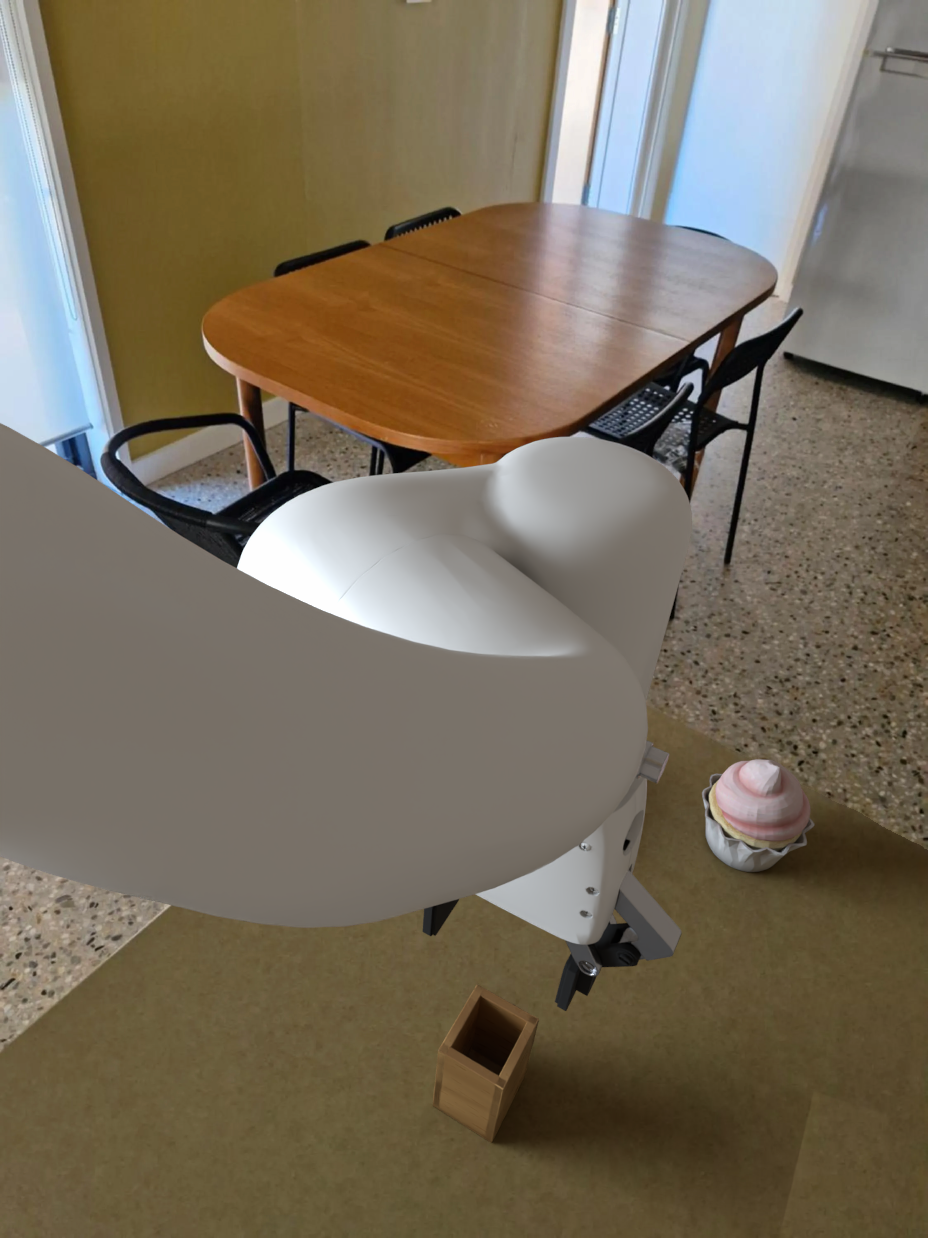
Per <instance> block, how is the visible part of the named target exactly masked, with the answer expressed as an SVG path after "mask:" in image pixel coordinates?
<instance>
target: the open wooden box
mask: <svg viewBox="0 0 928 1238" xmlns="http://www.w3.org/2000/svg"><path fill="white" fill-rule="evenodd" d="M539 1022H540V1019H539V1017H537V1016H535V1015H533V1014H532V1013H530V1012H528V1011H526V1010H524V1009H522V1008H520V1007H519V1006H517V1005H515V1004H514V1003H511V1002H510V1001H509V1000H506V999H505V998H503V997H501V996H499V995H498V994H496V993H494V992H492V991H490V990H488V989H487V988H485V987H484V986H481V985H480V984H476V985H475V987H474V988H473V990H472V991H471V993H470V995H469V996H468V998H467V1000H466V1002H465V1004H464V1005H463V1007H462V1009H461V1010H460V1012H459V1013H458V1016H457V1017H456V1019H455V1020H454V1023H453V1024H452V1025H451V1027H450V1029H449V1031H448V1033H447V1034H446V1036H445V1038H444V1039H443V1042H442V1043H441V1045H440V1046H439V1048H438V1049H437V1050H438V1051H437V1059H436V1068H435V1069H436V1070H435V1076H434V1077H435V1078H434V1088H433V1098H432V1107H433V1108H435V1109H436V1110H438V1111H440V1112H441V1113H443V1114H444V1115H446V1116H448V1117H450V1119H452V1120H454V1121H455V1122H457V1123H459V1124H460V1125H462V1126H463V1127H465V1128H467V1129H468V1130H470V1131H471V1132H473V1133H475V1134H476V1135H478V1136H479V1137H481V1138H482V1139H484V1140H486V1141H487V1142H489V1143H490V1144H492V1143H493V1141H494V1140H495V1138H496V1135H497V1134H498V1132H499V1130H500V1128H501V1125H502V1123H503V1122H504V1120H505V1117H506V1115H507V1113H508V1111H509V1110H510V1107H511V1105H512V1104H513V1102H514V1099H515V1097H516V1095H517V1093H518V1091H519V1090H520V1087H521V1085H522V1083H523V1081H524V1079H525V1078H526V1075H527V1070H528V1066H529V1062H530V1059H531V1058H530V1057H531V1054H532V1050H533V1046H534V1042H535V1038H536V1033H537V1031H538V1030H537V1029H538V1027H539V1026H538V1025H539Z"/></svg>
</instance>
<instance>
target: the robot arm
mask: <svg viewBox="0 0 928 1238" xmlns="http://www.w3.org/2000/svg"><path fill="white" fill-rule="evenodd" d="M692 533H693V513H692V507H691V503H690V500H689V497H688V494H687V491H686V490H685V488H684V487H683V485H682V484H681V482H680V480H679V479H678V477H676V476H675V474H673V473H672V471H670V470H669V469H668V468H667V467H666V466H664V465H663V464H662V463H661V462H659V461H658V460H656V459H655V458H653V457H652V456H650V455H649V454H647V453H644V452H643V451H640V450H638V449H636V448H633V447H631V446H628V445H625V444H622V443H619V442H614V441H610V440H606V439H602V438H594V437H587V436H586V437H584V436H558V437H549V438H544V439H543V438H542V439H539V440H535V441H532V442H529V443H526V444H524V445H521V446H519V447H517V448H515V449H513V450H511V451H510V452H508V453H506V454H505V455H503V457H501V458H500V459H498V460H497V461H496V462H493V463H487V464H481V465H473V466H466V467H455V468H445V469H434V470H424V471H412V472H398V473H384V474H376V475H374V474H373V475H367V476H359V477H353V478H349V479H343V480H339V481H334V482H330V483H327V484H324V485H321V486H319V487H316V488H313V489H311V490H308V491H306V492H304V493H301V494H299V495H297V496H294V498H292V499H290V500H288V501H286V502H285V503H283V504H282V505H281V506H280V507H278V508H277V509H275V510H274V511H273V512H272V513H270V514H269V515H267V517H266V518H265V519H263V521H262V522H261V523H260V524H259V525H258V527H256V529H255V530H254V532H253V533H252V534H251V536H249V538H248V540H247V542H246V544H245V546H244V547H243V550H242V552H241V555H240V557H239V561H238V564H237V567H235V566H233V565H231V564H230V563H228V562H226V561H224V560H222V559H220V558H219V557H217V556H216V555H214V554H212V553H211V552H209V551H207V550H206V549H204V548H202V547H201V546H199V545H197V544H196V543H194V542H193V541H190V540H189V539H187V538H186V537H184V536H182V535H181V534H179V533H178V532H176V531H174V530H173V529H171V528H170V527H168V526H167V525H165V524H164V523H162V522H160V520H157V519H156V518H155V517H153V516H152V515H150V514H148V513H147V512H146V511H144V510H143V509H141V508H140V507H138V506H137V505H135V504H134V503H132V502H131V501H129V500H127V499H126V498H125V497H123V496H121V495H120V494H118V493H117V492H116V491H114V490H113V489H111V488H110V487H108V486H107V485H105V484H104V483H102V482H101V481H99V480H97V479H96V478H95V477H93V476H92V475H90V474H89V473H87V472H86V471H84V470H83V469H81V468H80V467H78V466H76V465H75V464H73V463H72V462H71V461H68V460H67V459H65V458H63V457H62V456H61V455H58V454H57V453H56V452H53V451H52V450H50V449H49V448H47V447H45V446H43V445H42V444H41V443H38V442H36V441H34V440H33V439H31V438H29V437H28V436H25V434H22V433H21V432H19V431H16V430H15V429H13V428H12V427H10V426H7V425H5V424H3V423H2V422H0V858H3V859H6V860H8V861H11V862H14V863H16V864H19V865H22V866H25V867H28V868H31V869H34V870H37V871H40V872H43V873H46V874H49V875H52V876H55V877H59V878H63V879H66V880H68V881H73V882H76V883H80V884H83V885H88V886H91V887H95V888H98V889H102V890H105V891H108V892H113V893H117V894H120V895H126V896H130V897H135V898H139V899H142V900H146V901H151V902H155V903H160V904H164V905H169V906H172V907H176V908H181V909H186V910H189V911H193V912H198V913H200V914H201V913H202V914H205V915H210V916H214V917H219V918H224V919H229V920H235V921H241V922H248V923H252V924H257V925H258V924H260V925H267V926H279V927H290V928H303V929H306V928H307V929H309V928H338V927H339V928H340V927H341V928H343V927H351V926H358V925H364V924H370V923H377V922H382V921H385V920H389V919H393V918H396V917H400V916H404V915H406V914H411V913H414V912H418V911H421V910H422V911H423V918H422V933H423V934H425V935H427V936H429V937H432V936H434V937H436V936H437V935H438V934H439V931H440V930H441V928H442V927H443V926H444V924H445V922H446V921H447V919H448V918H449V916H450V915H451V913H452V912H453V910H454V909H455V907H456V906H457V904H458V903H459V901H460V900H461V899H464V898H468V897H470V896H475V895H476V896H477V897H479V898H481V899H483V900H485V901H487V902H489V903H491V904H493V905H495V906H496V907H498V908H500V909H501V910H503V911H506V912H507V913H510V914H511V915H514V917H517V918H519V919H521V920H523V921H525V922H527V923H529V924H531V925H533V926H535V927H537V928H539V929H541V930H543V931H545V932H547V933H549V934H550V935H553V936H555V937H557V938H559V939H561V940H564V941H565V943H566V946H567V948H568V950H569V952H570V954H569V956H568V957H567V959H566V962H565V964H564V966H563V969H562V972H561V977H560V979H559V983H558V988H557V992H556V996H555V998H554V1003H555V1004H557V1005H556V1007H557V1008H559V1009H561V1010H563V1011H564V1012H567V1011H568V1009H569V1008H570V1004H571V1003H572V1000H573V998H574V996H575V995H576V992H577V993H580V994H582V995H584V996H586V997H588V996H589V994H590V992H591V990H592V988H593V986H594V983H595V981H596V979H597V977H598V976H599V975H600V972H601V971H602V968H624V967H625V968H626V967H636V966H637V965H638V963H639V961H640V960H645V961H647V962H648V961H654V960H661V959H665V958H670V957H673V956H674V954H675V951H676V949H677V946H678V944H679V942H680V939H681V936H682V934H683V933H682V929H681V928H680V927H679V925H677V923H676V922H675V921H674V920H673V919H672V918H671V916H670V915H669V914H668V913H667V912H666V911H665V910H664V909H663V907H662V906H661V905H660V904H659V902H658V901H656V899H655V898H654V897H653V896H652V894H651V893H650V892H649V891H648V890H647V889H646V888H645V887H644V885H643V884H642V883H641V882H640V881H639V880H638V879H637V877H636V876H635V875H634V874H633V872H634V869H635V865H636V861H637V857H638V853H639V849H640V845H641V844H640V843H641V839H642V836H643V835H642V834H643V829H644V823H645V816H646V815H645V814H646V806H647V798H648V797H647V794H648V781H650V782H652V783H655V784H658V783H659V781H660V779H661V778H662V775H663V773H664V771H665V769H666V766H667V763H668V760H669V757H670V753H669V752H666V751H664V750H663V749H660V748H657V747H655V746H654V742H652V741H650V740H647V739H648V733H649V724H648V723H649V721H648V710H647V709H648V708H647V700H648V696H649V692H650V689H651V685H652V682H653V678H654V676H655V675H654V674H655V671H656V667H657V665H658V660H659V656H660V653H661V649H662V645H663V642H664V638H665V635H666V631H667V628H668V625H669V620H670V616H671V615H672V614H671V613H672V610H673V606H674V602H675V599H676V595H677V592H678V588H679V585H680V582H681V581H680V580H681V577H682V574H683V571H684V566H685V562H686V559H687V555H688V551H689V548H690V547H689V546H690V542H691V538H692ZM614 911H616V913H617V914H618V915H619V916H620V917H621V918H622V919H623V920H624V922H621V923H620V922H619V923H618V922H617V920H616V917H615V915H614Z"/></svg>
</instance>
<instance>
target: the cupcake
mask: <svg viewBox="0 0 928 1238" xmlns="http://www.w3.org/2000/svg"><path fill="white" fill-rule="evenodd" d="M701 797H702V801H703V806H704V809H705V810H704V817H705V838H706V842H707V844H708V846H709V848H710V850H711V852H712V853H713V855H714V856H715V857H716V858H718V859H719V860H720V861H721V862H722V863H723V864H725V865H727V866H728V867H730V868H732V869H735V870H738V871H741V872H746V873H758V872H762V871H765V870H769V869H770V868H772V867H773V866H774V865H776V863H778V861H780V860H781V859H782V858H783V857H785V856H786V855H787V854H788V853H789V852H792V851H795V850H796V849H799V848H802V847H805V846H807V844H808V841H807V836H806V833H807V832H808V831H810V830H811V829H812V828H814V826H815V822H814V821H813V820H812V819H811V817H810V816H811V803H810V801H809V798H808V796H807V794H806V793H805V791H804V790H803V789H802V785H801V783H800V781H799V779H798V778H797V777H796V776H795V775H794V774H793V773H792V772H791V771H790V770H789V769H787V767H785V766H784V765H782V764H781V763H780V762H778V761H776V760H773V759H760V758H759V759H758V758H757V759H756V758H755V759H752V760H740V761H737V762H735V763H733V764H731V765H730V766H728V768H727V769H726V770H725V771H724V772H723V773H714V774H711V775H710V777H709V786H707V787H705V788H703V789H702V792H701Z"/></svg>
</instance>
